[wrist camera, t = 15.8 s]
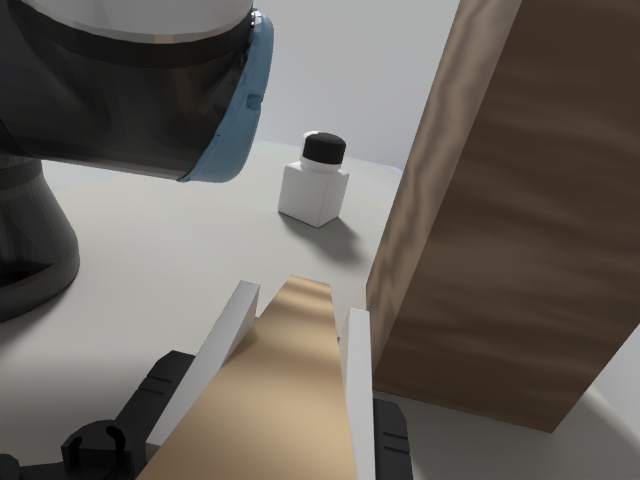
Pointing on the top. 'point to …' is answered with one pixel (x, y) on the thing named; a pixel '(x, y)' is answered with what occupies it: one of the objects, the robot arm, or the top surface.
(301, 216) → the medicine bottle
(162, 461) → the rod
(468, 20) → the stand
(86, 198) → the top surface
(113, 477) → the robot arm
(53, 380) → the top surface
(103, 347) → the top surface
